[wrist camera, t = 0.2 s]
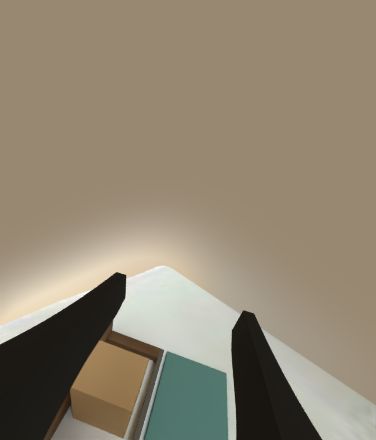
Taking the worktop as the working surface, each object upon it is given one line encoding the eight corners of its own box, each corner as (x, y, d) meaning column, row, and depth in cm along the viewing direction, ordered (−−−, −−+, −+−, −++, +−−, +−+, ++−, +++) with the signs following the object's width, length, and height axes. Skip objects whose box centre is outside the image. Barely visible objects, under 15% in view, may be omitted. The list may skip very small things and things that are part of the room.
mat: (230, 600, 13) (232, 600, 12) (116, 548, 13) (116, 548, 13) (225, 374, 25) (226, 373, 25) (167, 352, 26) (167, 351, 26)
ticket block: (123, 438, 18) (131, 411, 14) (73, 417, 18) (69, 386, 15) (139, 389, 21) (149, 358, 18) (97, 373, 22) (99, 339, 18)
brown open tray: (111, 534, 14) (115, 531, 12) (6, 487, 14) (-5, 478, 12) (162, 354, 25) (167, 339, 24) (104, 332, 26) (105, 316, 24)
